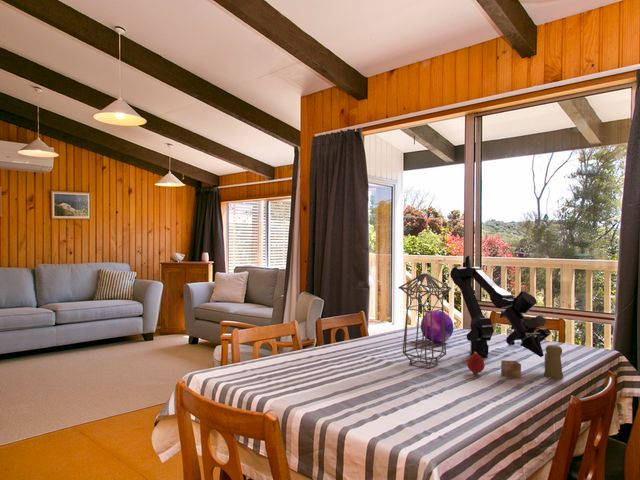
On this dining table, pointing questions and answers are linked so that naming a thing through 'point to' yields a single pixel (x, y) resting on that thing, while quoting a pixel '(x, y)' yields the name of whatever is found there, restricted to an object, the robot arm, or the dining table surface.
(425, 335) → the geometric lantern
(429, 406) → the dining table surface
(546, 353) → the slate marked block
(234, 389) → the dining table surface
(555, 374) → the cork
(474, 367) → the onion
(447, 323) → the decorative orb
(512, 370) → the walnut marked block
